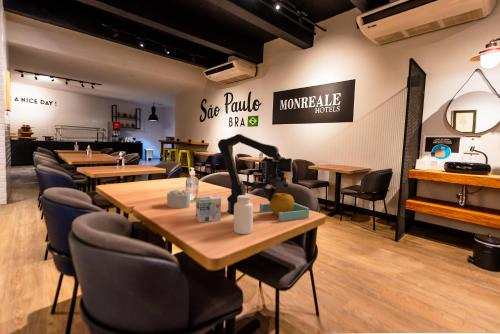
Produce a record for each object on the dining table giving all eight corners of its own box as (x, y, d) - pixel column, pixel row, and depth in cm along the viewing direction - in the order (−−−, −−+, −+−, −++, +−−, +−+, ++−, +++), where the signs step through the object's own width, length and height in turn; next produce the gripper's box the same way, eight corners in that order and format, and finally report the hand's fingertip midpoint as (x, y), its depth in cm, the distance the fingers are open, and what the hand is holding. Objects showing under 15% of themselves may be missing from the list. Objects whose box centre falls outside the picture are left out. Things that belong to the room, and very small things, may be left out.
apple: (265, 212, 141) (265, 191, 140) (285, 210, 147) (286, 190, 146) (276, 219, 130) (277, 196, 129) (298, 217, 135) (300, 195, 134)
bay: (279, 221, 126) (280, 211, 125) (259, 211, 143) (259, 202, 142) (309, 218, 134) (309, 208, 134) (286, 208, 152) (286, 200, 151)
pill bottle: (233, 228, 114) (234, 194, 113) (251, 228, 115) (252, 194, 114) (233, 234, 106) (234, 198, 105) (253, 234, 107) (254, 198, 106)
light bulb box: (199, 222, 120) (199, 199, 119) (195, 218, 126) (195, 196, 125) (221, 220, 125) (221, 198, 124) (216, 216, 131) (216, 195, 130)
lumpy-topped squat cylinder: (178, 202, 157) (179, 188, 156) (194, 206, 149) (194, 191, 149) (164, 205, 148) (164, 190, 147) (180, 209, 141) (180, 193, 140)
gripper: (263, 173, 121) (261, 206, 122) (295, 172, 130) (293, 203, 131) (251, 170, 130) (250, 201, 132) (282, 169, 139) (281, 198, 141)
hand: (269, 201), depth 134 cm, fingers closed
